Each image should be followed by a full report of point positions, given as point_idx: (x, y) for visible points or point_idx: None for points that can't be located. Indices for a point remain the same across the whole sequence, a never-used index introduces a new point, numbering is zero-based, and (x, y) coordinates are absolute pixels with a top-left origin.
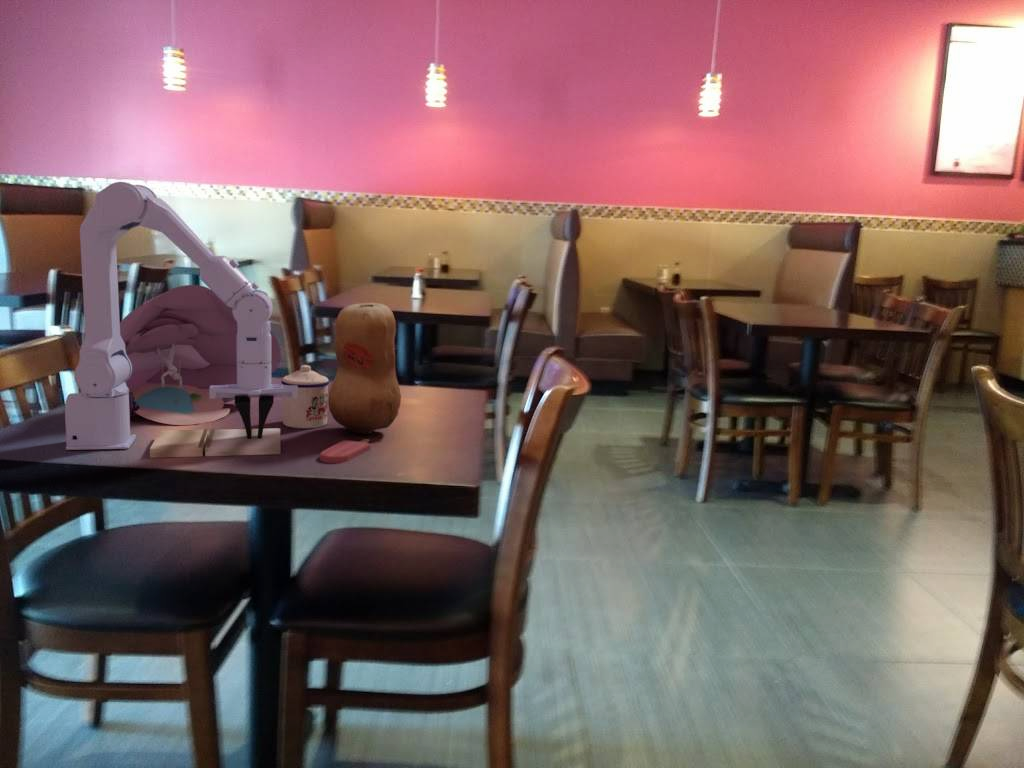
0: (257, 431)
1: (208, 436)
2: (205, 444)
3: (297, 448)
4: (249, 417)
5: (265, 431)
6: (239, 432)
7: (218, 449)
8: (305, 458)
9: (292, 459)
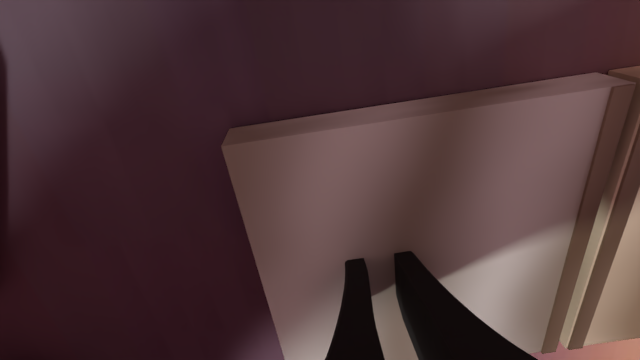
0: None
1: None
2: None
3: (181, 230)
4: (443, 337)
5: None
6: None
7: (554, 89)
8: (72, 64)
9: (137, 39)
